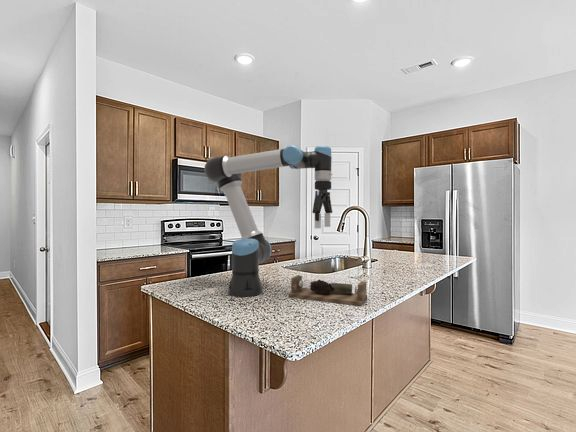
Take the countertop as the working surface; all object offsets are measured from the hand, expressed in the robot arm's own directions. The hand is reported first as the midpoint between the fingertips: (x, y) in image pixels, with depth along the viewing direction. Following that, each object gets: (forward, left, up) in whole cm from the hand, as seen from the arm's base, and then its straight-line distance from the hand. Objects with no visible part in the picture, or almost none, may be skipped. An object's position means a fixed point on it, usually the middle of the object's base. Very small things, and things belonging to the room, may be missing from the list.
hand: (322, 227), depth 147 cm
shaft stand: (+6, -11, -29) cm, 31 cm away
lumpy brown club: (+7, -10, -27) cm, 30 cm away
